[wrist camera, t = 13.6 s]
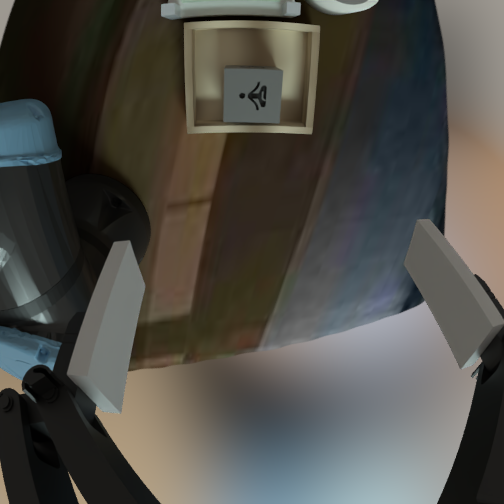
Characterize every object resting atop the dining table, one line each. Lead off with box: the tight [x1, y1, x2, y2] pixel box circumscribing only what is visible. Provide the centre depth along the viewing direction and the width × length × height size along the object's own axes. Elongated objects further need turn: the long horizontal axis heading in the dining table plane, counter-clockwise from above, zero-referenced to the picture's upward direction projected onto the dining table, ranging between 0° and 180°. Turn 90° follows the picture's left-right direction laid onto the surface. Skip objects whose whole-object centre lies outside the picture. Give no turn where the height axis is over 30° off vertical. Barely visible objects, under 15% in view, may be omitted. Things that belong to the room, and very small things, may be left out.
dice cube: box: [223, 65, 283, 124], centre depth 26 cm, size 5×5×5 cm
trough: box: [184, 20, 320, 134], centre depth 27 cm, size 12×11×3 cm
